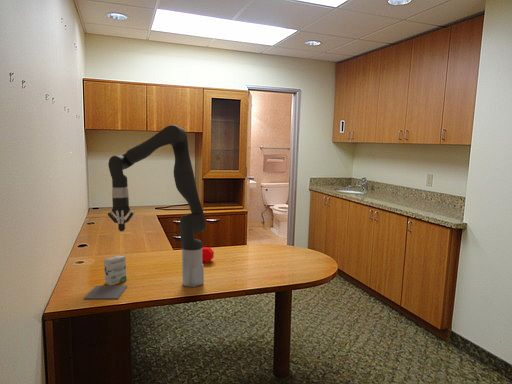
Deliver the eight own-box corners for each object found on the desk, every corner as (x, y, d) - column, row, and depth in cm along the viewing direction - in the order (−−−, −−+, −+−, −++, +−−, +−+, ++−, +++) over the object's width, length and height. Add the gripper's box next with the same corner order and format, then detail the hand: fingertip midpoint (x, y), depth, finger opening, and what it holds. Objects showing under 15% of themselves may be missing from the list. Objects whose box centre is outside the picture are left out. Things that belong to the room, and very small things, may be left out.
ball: (214, 259, 208) (214, 246, 207) (209, 264, 200) (209, 250, 199) (201, 258, 209) (201, 245, 208) (196, 263, 202) (196, 249, 201)
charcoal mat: (127, 286, 168) (127, 285, 168) (117, 299, 155) (117, 297, 155) (96, 286, 167) (96, 285, 167) (83, 299, 154) (83, 298, 154)
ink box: (121, 278, 178) (120, 254, 176) (126, 280, 175) (126, 256, 173) (104, 283, 171) (103, 258, 170) (109, 286, 168) (108, 261, 167)
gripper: (136, 195, 185) (137, 229, 186) (109, 195, 184) (110, 229, 186) (132, 197, 177) (133, 232, 179) (104, 197, 177) (105, 233, 178)
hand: (121, 231), depth 182 cm, fingers closed
